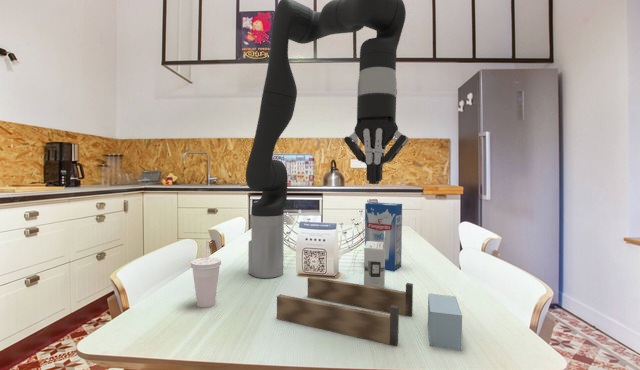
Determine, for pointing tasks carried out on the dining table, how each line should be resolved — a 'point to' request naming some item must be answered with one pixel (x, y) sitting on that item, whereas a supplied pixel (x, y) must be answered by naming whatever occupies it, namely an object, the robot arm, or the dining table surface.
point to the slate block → (444, 322)
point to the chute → (349, 309)
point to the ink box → (374, 263)
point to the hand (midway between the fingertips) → (374, 183)
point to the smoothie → (206, 278)
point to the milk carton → (389, 221)
